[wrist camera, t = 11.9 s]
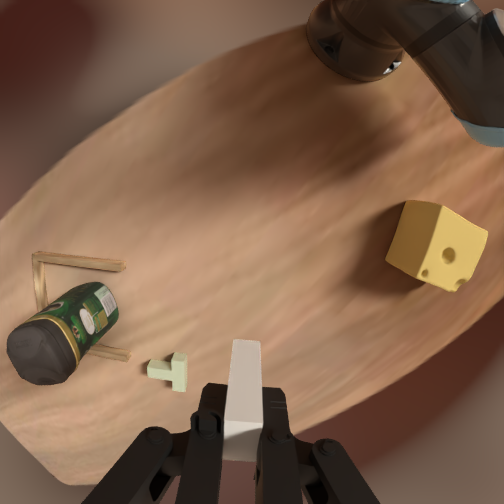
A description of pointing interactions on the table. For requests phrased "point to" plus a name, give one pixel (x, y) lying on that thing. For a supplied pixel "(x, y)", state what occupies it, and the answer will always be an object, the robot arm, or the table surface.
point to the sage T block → (170, 371)
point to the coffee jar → (62, 334)
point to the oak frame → (79, 261)
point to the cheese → (436, 245)
